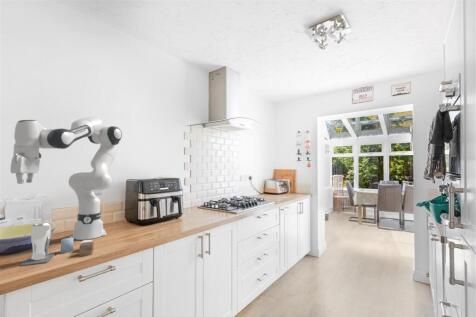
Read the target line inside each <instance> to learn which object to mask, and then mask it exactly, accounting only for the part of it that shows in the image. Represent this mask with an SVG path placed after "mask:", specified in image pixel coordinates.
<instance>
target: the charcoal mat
mask: <svg viewBox="0 0 476 317" xmlns="http://www.w3.org/2000/svg"><path fill="white" fill-rule="evenodd" d="M55 255H56V252H51V253H50V252H49V257H48V258H46V259H43V260H38V261H32V260H31V258H32V255H31V256H29V257H28V258H27V259H26V260H24V262H22V263H21V264H20V265H19V266H20V267H24V266H34V265H42V264H47V263H49V262H50V260H51V259H52V258H53V257H54V256H55Z"/></svg>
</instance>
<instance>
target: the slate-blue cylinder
mask: <svg viewBox="0 0 476 317" xmlns="http://www.w3.org/2000/svg"><path fill="white" fill-rule="evenodd" d="M74 240H75V239H74V238H70V237H65V238H62V239H61V241H60V254H69V253H72V252H73V251H74Z"/></svg>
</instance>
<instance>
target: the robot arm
mask: <svg viewBox="0 0 476 317" xmlns="http://www.w3.org/2000/svg"><path fill="white" fill-rule="evenodd" d="M122 136H123V132H122V130H121V129H120V128H119V127H118V126H112V125H111V126H104V123H103V121H102V120H101V119H100V118H98V117H95V116H94V117H91V116H90V117H84V118H80V119H77V120H75V121H73V122H71V126H70V129H68V128H53V129H48V128H46V127H44V126H43V125H42V124H40V122H39V121H38V120H36V119H21V120H18V121H17V122H16V124H15V127H14V141H15V142H14V144H13V153H12V154H13V155H12V156H13V157H12V159H11V163H10V173H11V174H15V178H16V183H17V184H18V185H21V184H24V183H25V182H24V180H26V183H27V184H29V183H30V184H31V183H33V179H34V176H35V174H38V173H39V170H40V162H41V160H40V159H41V158H42V154H41V153H40V149H61V150H65V149H67V148H69V147H70V146H71V145H72V144H73V143H75V142H76V141H78V140H81V139H83V138H87V139H88V141H89V142H90V143H92V144H95V145H99V144H100V146H99V149H97V151H96V152H95V155H93V157H92V159H91V161H90V166H91V168H93V170H92V171H91V172H76V173H73V174H71V175H70V176H69V179H68V185H69V188H71V189H72V190H73V191H74V192H75V194H76V196H77V199H78V200H77V201H78V213H77V216H76V217H77V218H76V219H77V221H76V222H75V223H74V225H73V233H72V235H70V236H69V238H74V240H78V241H79V240H81V241H83V240H93V239H97V238H99V237H103V236H106V235H107V232H106V229H104V225H103V224H104V221H102V220H101V217H102V214H101V200H100V197H98V196H97V195H95V192H94V191H104V190H108V189H110V187H111V185H112V184H113V179H112V176H111V175H110V172H109V170H110V167H111V166H112V163H113V162H114V160H115V157H116V154H117V151H118V147H117V146H116V145H119V144H120V141H121V139H122ZM24 174H26V175H27V176H26V179H24Z"/></svg>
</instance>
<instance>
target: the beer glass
mask: <svg viewBox="0 0 476 317" xmlns="http://www.w3.org/2000/svg"><path fill="white" fill-rule="evenodd" d="M51 236H52V223H50V222H41V223H40V222H39V223H35V224H33V225H31V233H30V241H31V246H32V254H31V256H32V258H31V260H32V261H38V260H43V259H46V258H48V257H49V254H50V252H49V245H50V242H51V238H52V237H51Z"/></svg>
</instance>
